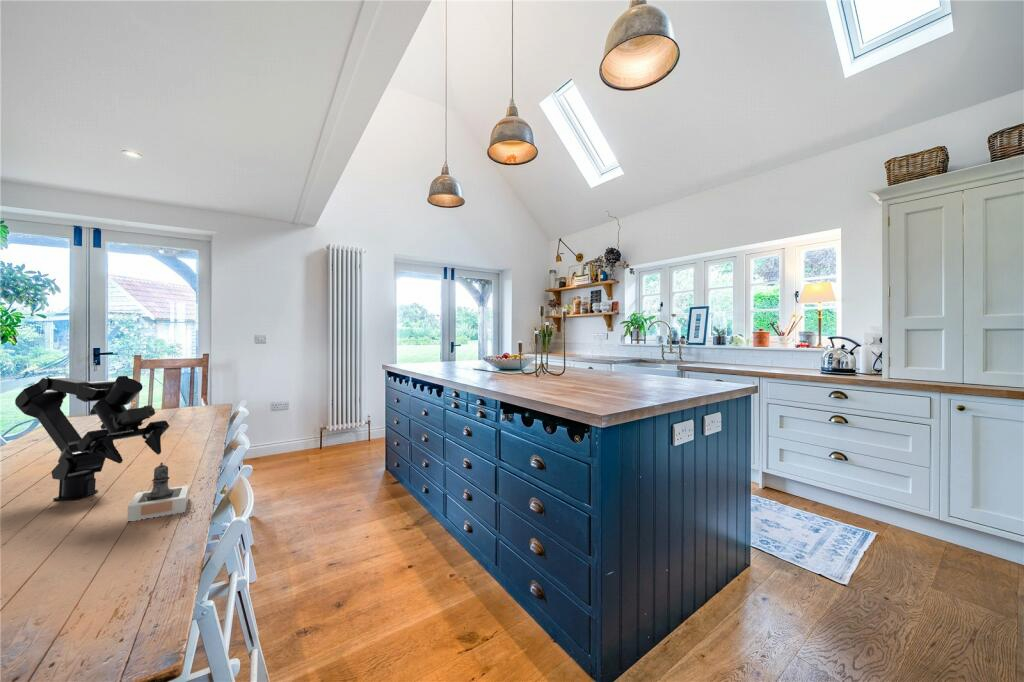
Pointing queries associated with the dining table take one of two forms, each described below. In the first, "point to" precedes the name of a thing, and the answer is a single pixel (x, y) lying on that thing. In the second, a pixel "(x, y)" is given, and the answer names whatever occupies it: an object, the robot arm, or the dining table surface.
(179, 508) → the tagged holder
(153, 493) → the dark chess piece
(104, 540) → the dining table surface
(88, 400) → the robot arm
